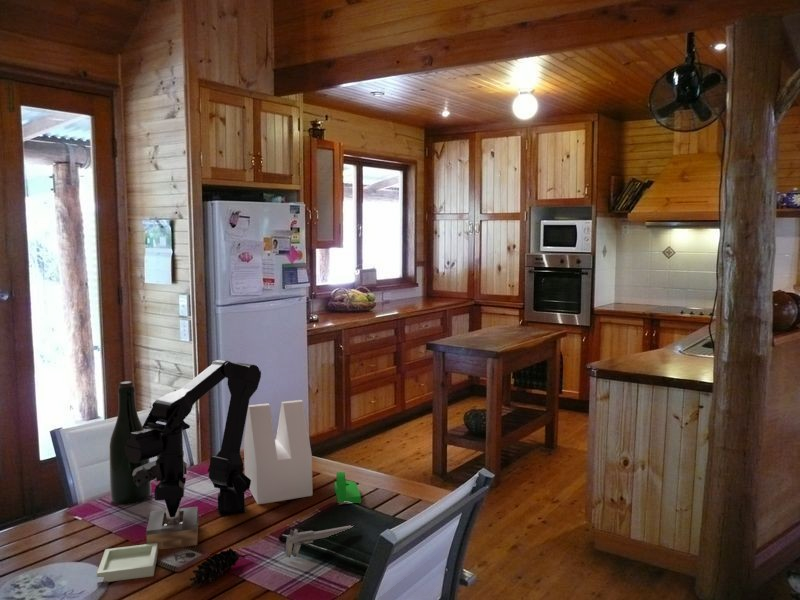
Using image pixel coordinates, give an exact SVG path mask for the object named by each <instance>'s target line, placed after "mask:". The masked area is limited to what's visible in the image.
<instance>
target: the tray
mask: <svg viewBox="0 0 800 600" xmlns="http://www.w3.org/2000/svg"><path fill="white" fill-rule="evenodd" d="M158 554H159V550H158V543H152V544H147V543H144V544H139V545H130V546H121V547H114V548H105V550H104V552H103V555H102V558H101V561H100V563H99V566H98V569H97V571H96V578H97V577H104V579H105V580H106V581H107V582H106V583H108V582H110V583H111V582H116V581H125V580H131V579H133V580H134V579H139V578H140V579H141V578H147V577H148V578H149V577H154V574H155V571H156V564H157V559H158Z"/></svg>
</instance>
